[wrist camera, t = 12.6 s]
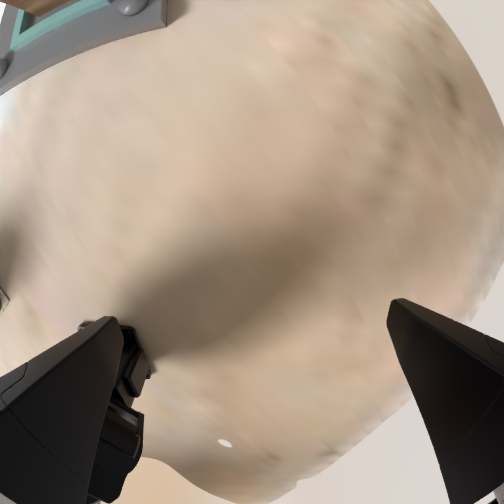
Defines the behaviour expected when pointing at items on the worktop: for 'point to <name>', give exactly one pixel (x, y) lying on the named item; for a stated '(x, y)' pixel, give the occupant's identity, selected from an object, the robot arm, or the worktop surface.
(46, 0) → the pillar
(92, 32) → the baseplate
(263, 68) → the worktop surface
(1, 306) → the condiment
